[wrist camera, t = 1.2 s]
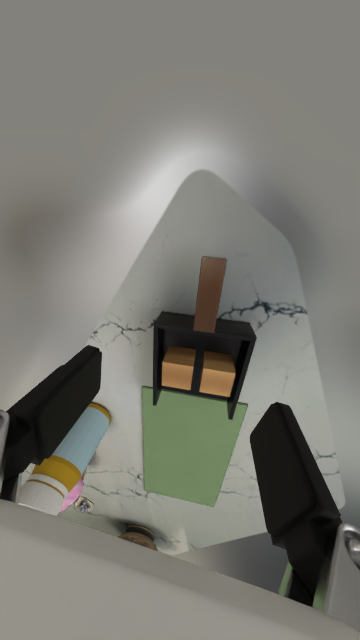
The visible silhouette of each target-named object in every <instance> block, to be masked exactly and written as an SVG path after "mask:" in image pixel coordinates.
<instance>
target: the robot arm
mask: <svg viewBox="0 0 360 640" xmlns="http://www.w3.org/2000/svg"><path fill="white" fill-rule="evenodd" d="M101 361H102V352H100V350H99V348H96V347H93V346H90V345H87V346H86V347H85V348H83V349H82V350H81V351H80V352H79V353H78V354H76V355H75V356H74V357H73V358H72V359H71V360H69V361H68V362H67V363H66V364H65V365H62V366H60V367H59V368H57V369H56V370H55V371H54V372H52V374H50V375H49V376H48V377H47V378H46V379H44V380H43V381H42V382H41V383H39V384H38V385H37V386H36V387H35V388H33V389H32V390H31V391H30V392H29V393H28V394H26V395H25V396H24V397H23V398H22V399H20V400H19V401H18V402H17V403H16V404H14V405H13V406H12V407H11V408H10V409H9V410H7V411H6V412H5V411H3V410H0V640H360V529H358V528H357V527H355V526H353V525H352V524H348V523H342V520H341V518H340V516H341V515H340V513H339V511H338V509H337V506H336V504H335V502H334V500H333V498H332V496H331V493H330V491H329V489H328V487H327V485H326V483H325V481H324V478H323V476H322V474H321V472H320V470H319V468H318V466H317V463H316V461H315V459H314V457H313V455H312V453H311V450H310V448H309V446H308V444H307V442H306V440H305V438H304V435H303V433H302V431H301V429H300V427H299V425H298V422H297V420H296V418H295V416H294V414H293V412H292V410H291V408H290V406H288V405H285V404H282V403H279V402H276V403H274V404H271V405H270V407H269V408H268V410H267V411H266V413H265V414H264V415H263V417H262V418H261V420H260V421H259V423H258V424H257V426H256V427H255V429H254V430H253V431H252V433H251V435H250V443H251V449H252V454H253V459H254V465H255V470H256V475H257V481H258V486H259V491H260V496H261V502H262V507H263V512H264V518H265V523H266V528H267V530H268V532H269V533H270V534H271V538H272V543H273V545H275V546H278V547H281V548H284V549H286V550H287V555H288V559H289V562H288V565H287V568H286V571H285V574H284V577H283V580H282V583H281V586H280V589H279V592H278V594H276V593H273V592H270V591H267V590H265V589H262V588H259V587H257V586H254V585H251V584H248V583H245V582H243V581H240V580H237V579H234V578H231V577H229V576H226V575H223V574H220V573H217V572H214V571H212V570H209V569H206V568H203V567H201V566H198V565H195V564H192V563H189V562H186V561H183V560H181V559H178V558H175V557H172V556H169V555H167V554H164V553H161V552H158V551H155V550H152V549H149V548H147V547H144V546H141V545H138V544H135V543H132V542H129V541H127V540H124V539H121V538H118V537H115V536H112V535H109V534H106V533H104V532H101V531H98V530H95V529H92V528H89V527H86V526H83V525H80V524H77V523H75V522H72V521H69V520H66V519H63V518H60V517H57V516H54V515H51V514H48V513H45V512H42V511H39V510H36V509H32V508H29V507H26V506H23V505H20V504H18V502H19V494H20V486H21V478H22V472H24V470H25V469H26V468H27V467H28V465H29V464H30V463H33V464H36V465H39V466H40V465H41V463H42V462H43V461H44V459H48V458H50V457H51V455H52V454H53V453H54V452H55V450H56V449H57V447H58V446H59V445H60V443H61V442H62V441H63V439H64V438H65V437H66V435H67V434H68V433H69V431H70V430H71V429H72V427H73V426H74V424H75V423H76V422H77V420H78V419H79V418H80V416H81V415H82V414H83V412H84V411H85V410H86V408H87V407H88V405H89V404H90V403H91V401H92V400H93V399H94V397H95V396H96V395H97V393H98V392H99V389H100V383H101Z"/></svg>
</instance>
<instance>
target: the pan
mask: <svg viewBox="0 0 360 640" xmlns="http://www.w3.org/2000/svg"><path fill="white" fill-rule="evenodd" d="M226 262H227V259H226V258H218V257H207V256H202V259H201V267H200V276H199V284H198V293H197V301H196V310H195V316H193V315H185V314H177V313H169V312H161V314H160V315H159V317H158V318H157V320H156V321H155V322H154V341H153V405H154V406H157V402H158V399H159V396H160V393H161V390H162V389H164V390H170V391H175V392H181V393H187V394H192V395H198V396H204V397H209V398H215V399H221V400H226V401H227V411H228V419H229V420H233V416H234V413H235V409H236V406H237V403H238V399H239V396H240V392H241V389H242V386H243V382H244V379H245V375H246V372H247V369H248V365H249V362H250V358H251V355H252V352H253V348H254V345H255V341H256V338H257V337H256V335H255V333H254V331H253V329H252V327H251V325H250V323H247V322H240V321H232V320H224V319H217V313H218V308H219V302H220V296H221V291H222V285H223V279H224V274H225V268H226ZM169 346H176V347H183V348H190V349H196V352H195V360H194V367H193V375H192V382H191V390H186V389H180V388H174V387H169V386H163V385H162V363H163V360H164V357H165V354H166V352H167V349H168V347H169ZM204 351H210V352H217V353H224V354H230V355H232V357H233V362H234V368H235V373H236V374H235V378H234V382H233V386H232V389H231V393H230V397H226V396H221V395H215V394H209V393H203V392H199V389H200V375H201V367H202V361H203V354H204Z"/></svg>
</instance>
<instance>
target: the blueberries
mask: <svg viewBox="0 0 360 640" xmlns="http://www.w3.org/2000/svg"><path fill="white" fill-rule="evenodd" d="M93 505H94V504H92V502H90V501H89V500H88V499H86V498H84V497H79V499H78V502H77V501H76V503H75V506H76V507H78V508H79V510H80V511H81V512H88V513H89V512H91V511H92V510H93V509H92V508H94V507H93Z"/></svg>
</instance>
